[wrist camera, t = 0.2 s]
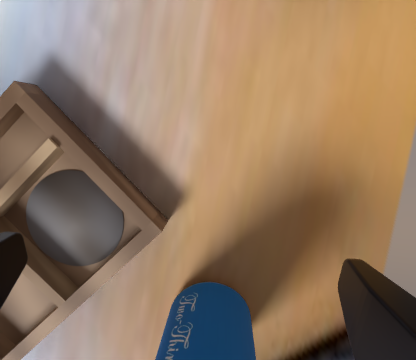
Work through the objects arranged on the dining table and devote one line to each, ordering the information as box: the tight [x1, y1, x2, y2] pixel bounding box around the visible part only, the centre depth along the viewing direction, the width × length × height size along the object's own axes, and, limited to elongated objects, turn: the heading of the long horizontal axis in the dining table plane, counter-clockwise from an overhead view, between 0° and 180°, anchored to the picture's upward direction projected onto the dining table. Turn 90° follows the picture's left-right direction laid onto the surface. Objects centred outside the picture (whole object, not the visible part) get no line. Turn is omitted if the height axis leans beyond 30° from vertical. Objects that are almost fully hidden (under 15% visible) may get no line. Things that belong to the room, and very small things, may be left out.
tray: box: [0, 81, 168, 360], centre depth 24 cm, size 18×14×3 cm
